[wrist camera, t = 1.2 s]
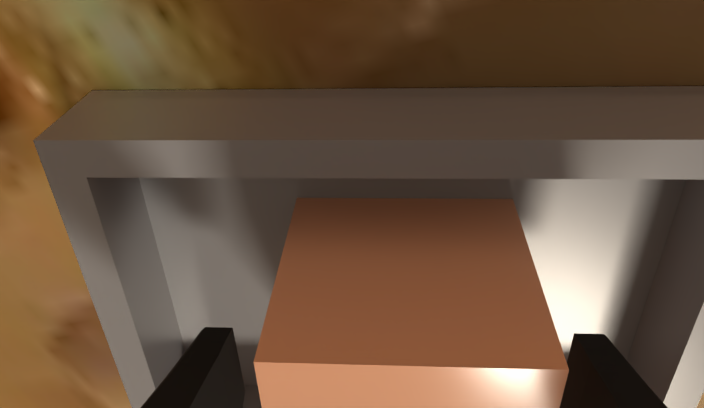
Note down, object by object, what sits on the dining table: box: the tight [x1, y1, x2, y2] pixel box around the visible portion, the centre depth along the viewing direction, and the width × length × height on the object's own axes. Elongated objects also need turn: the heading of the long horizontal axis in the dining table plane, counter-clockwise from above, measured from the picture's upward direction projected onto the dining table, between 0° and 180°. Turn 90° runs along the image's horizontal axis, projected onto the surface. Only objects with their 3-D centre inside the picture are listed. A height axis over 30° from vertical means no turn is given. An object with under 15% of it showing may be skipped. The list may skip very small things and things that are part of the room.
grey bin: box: [33, 86, 704, 408], centre depth 14 cm, size 14×10×2 cm
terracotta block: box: [254, 198, 569, 408], centre depth 13 cm, size 5×5×5 cm
